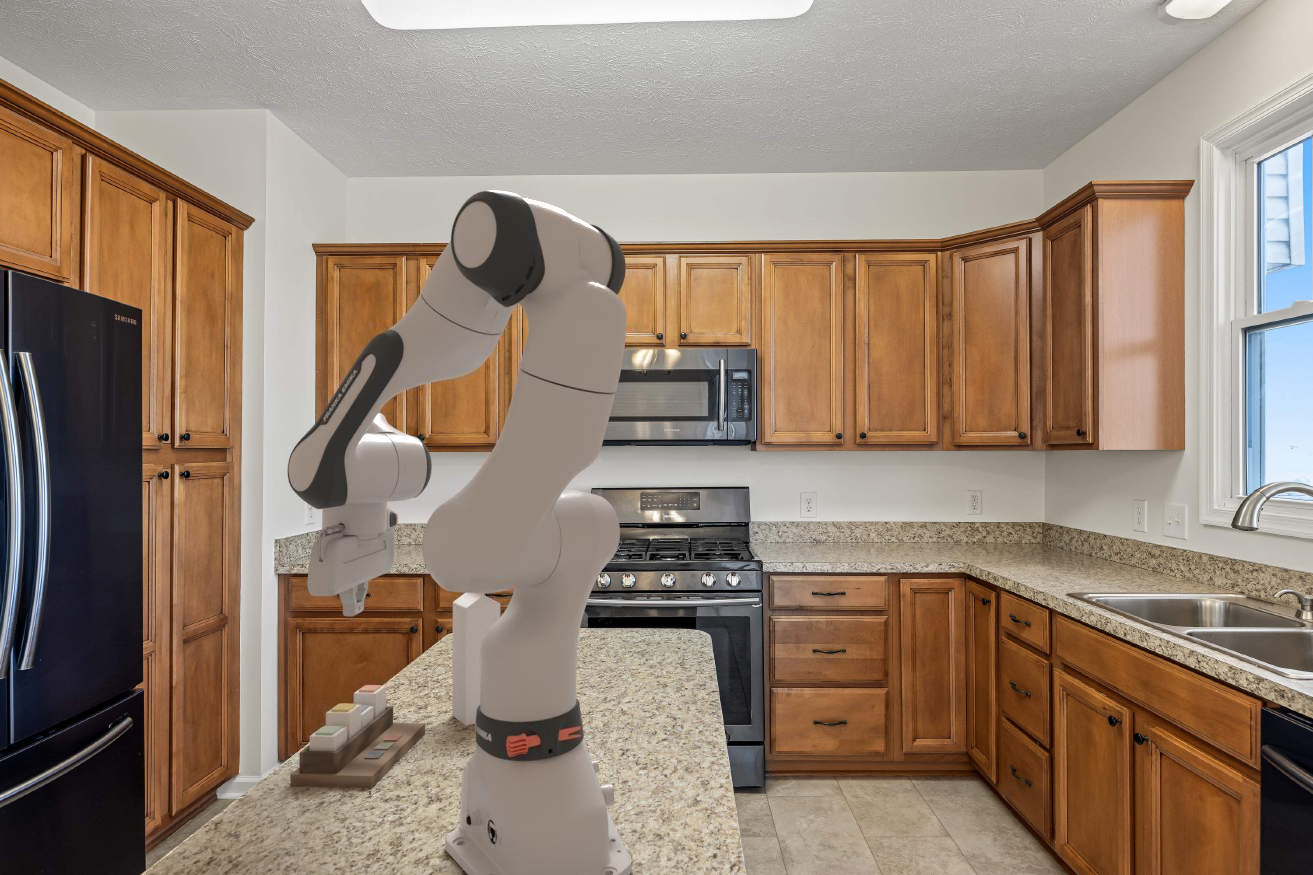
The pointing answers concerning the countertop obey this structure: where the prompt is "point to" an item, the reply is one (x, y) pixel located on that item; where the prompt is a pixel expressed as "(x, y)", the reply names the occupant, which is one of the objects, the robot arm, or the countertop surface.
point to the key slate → (366, 715)
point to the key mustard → (345, 718)
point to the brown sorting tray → (359, 755)
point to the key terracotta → (372, 698)
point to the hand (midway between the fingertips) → (353, 614)
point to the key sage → (328, 738)
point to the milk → (469, 651)
